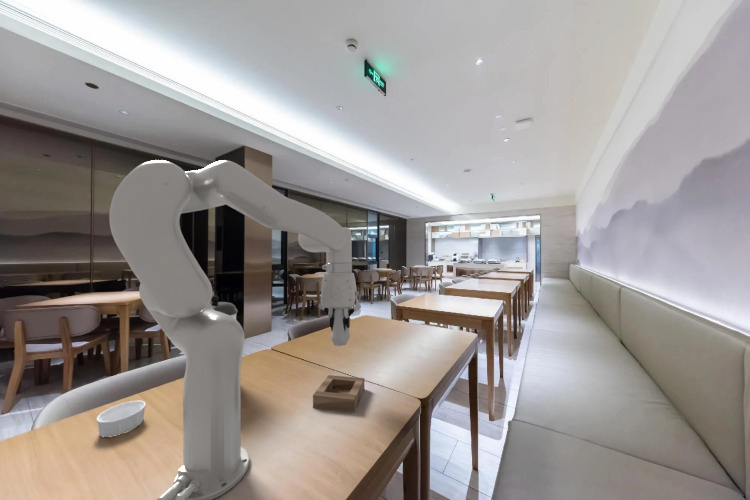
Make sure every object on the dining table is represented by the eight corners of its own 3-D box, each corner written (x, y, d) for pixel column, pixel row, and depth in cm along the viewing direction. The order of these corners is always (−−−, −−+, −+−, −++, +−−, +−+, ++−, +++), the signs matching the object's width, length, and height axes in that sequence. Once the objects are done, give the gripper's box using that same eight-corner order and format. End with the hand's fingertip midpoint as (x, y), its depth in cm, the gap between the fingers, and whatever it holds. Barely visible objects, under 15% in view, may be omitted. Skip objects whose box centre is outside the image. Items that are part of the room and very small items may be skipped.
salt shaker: (351, 340, 80) (351, 298, 80) (348, 347, 74) (347, 302, 74) (333, 340, 81) (333, 298, 81) (328, 346, 75) (327, 301, 75)
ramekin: (151, 423, 67) (151, 406, 67) (103, 445, 59) (102, 426, 59) (138, 412, 71) (138, 396, 71) (91, 431, 64) (91, 414, 64)
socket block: (354, 412, 70) (354, 399, 70) (313, 407, 72) (312, 395, 73) (364, 389, 82) (364, 378, 82) (328, 385, 84) (328, 375, 84)
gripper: (308, 269, 75) (308, 332, 75) (362, 269, 72) (363, 335, 72) (318, 267, 83) (319, 325, 83) (368, 268, 80) (369, 327, 80)
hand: (339, 329), depth 77 cm, fingers closed on salt shaker, 3 cm apart
